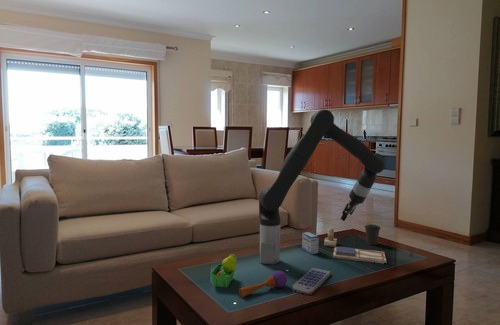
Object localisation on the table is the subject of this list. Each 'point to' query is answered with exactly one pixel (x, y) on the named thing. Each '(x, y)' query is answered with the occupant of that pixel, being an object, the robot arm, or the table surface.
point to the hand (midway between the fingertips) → (346, 216)
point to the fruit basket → (224, 272)
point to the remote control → (311, 280)
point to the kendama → (266, 283)
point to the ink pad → (345, 251)
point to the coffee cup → (372, 234)
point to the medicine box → (310, 243)
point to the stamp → (330, 239)
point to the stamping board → (364, 256)
